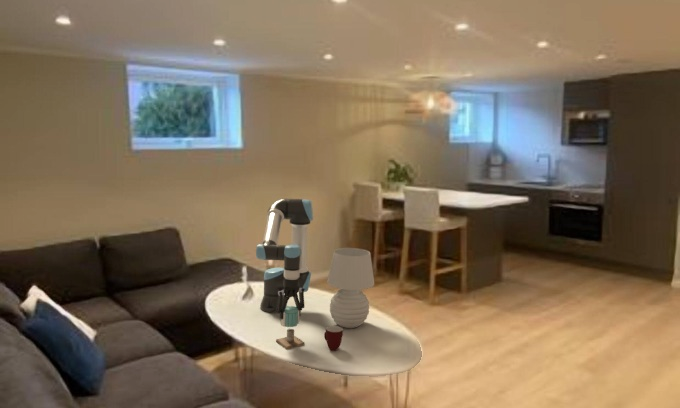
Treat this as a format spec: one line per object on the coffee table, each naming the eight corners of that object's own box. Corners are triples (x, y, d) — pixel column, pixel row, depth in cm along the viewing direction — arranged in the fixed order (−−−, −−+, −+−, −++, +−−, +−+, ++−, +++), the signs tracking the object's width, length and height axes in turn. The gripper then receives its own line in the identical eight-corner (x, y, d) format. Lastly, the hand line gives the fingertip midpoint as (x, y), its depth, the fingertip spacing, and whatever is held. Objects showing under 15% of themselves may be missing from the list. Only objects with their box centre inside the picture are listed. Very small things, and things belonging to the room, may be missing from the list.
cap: (292, 321, 253) (293, 305, 252) (299, 325, 247) (300, 309, 246) (280, 323, 249) (280, 307, 248) (287, 328, 243) (287, 311, 242)
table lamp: (378, 321, 284) (382, 250, 278) (361, 337, 261) (365, 260, 255) (337, 313, 294) (340, 244, 289) (317, 327, 271) (320, 253, 266)
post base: (293, 337, 256) (294, 324, 255) (304, 344, 248) (304, 331, 247) (276, 341, 250) (276, 328, 249) (286, 349, 242) (286, 335, 241)
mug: (317, 347, 246) (318, 327, 244) (328, 342, 252) (329, 323, 250) (334, 354, 239) (335, 333, 238) (345, 349, 245) (346, 329, 244)
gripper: (305, 273, 254) (303, 318, 257) (269, 278, 242) (267, 325, 245) (313, 277, 248) (311, 322, 251) (276, 282, 236) (275, 330, 239)
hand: (290, 323), depth 248 cm, fingers closed on cap, 7 cm apart
